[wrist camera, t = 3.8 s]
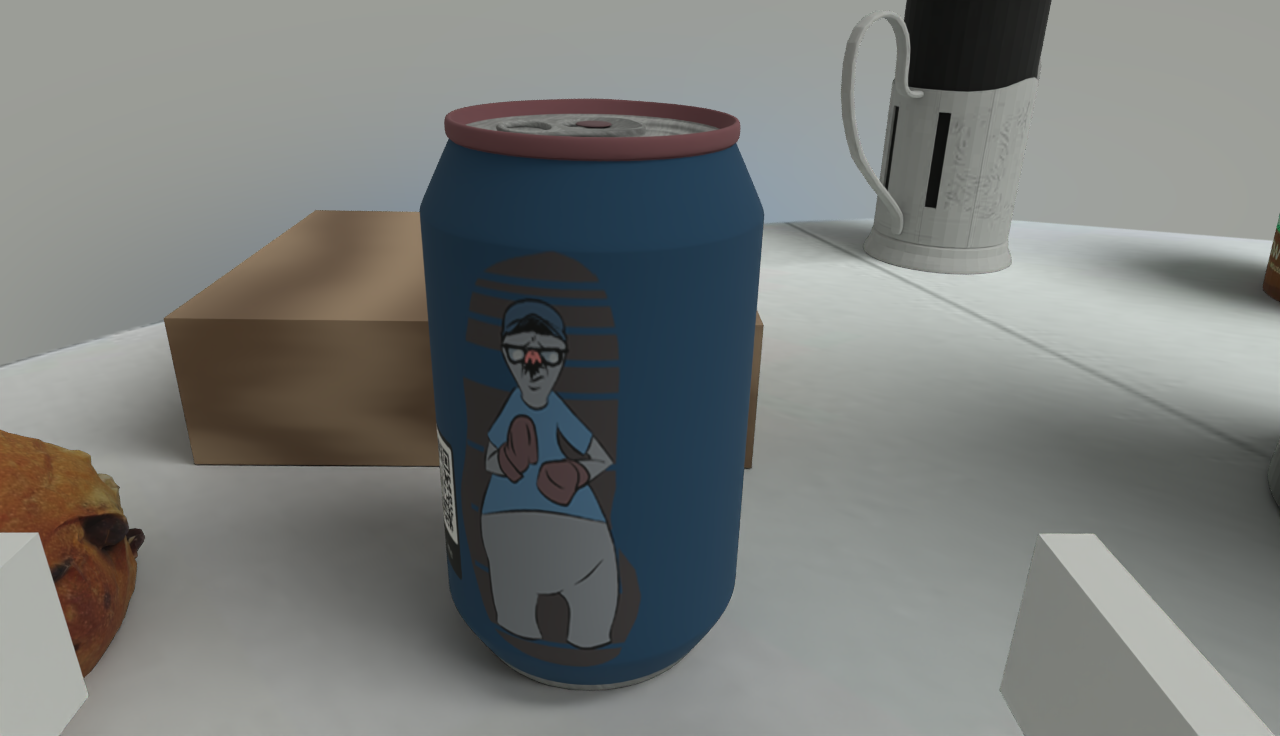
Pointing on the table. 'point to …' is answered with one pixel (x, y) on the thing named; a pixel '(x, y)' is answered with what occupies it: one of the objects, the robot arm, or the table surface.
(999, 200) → the glass holder
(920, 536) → the table surface
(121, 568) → the bread roll
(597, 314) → the soda can
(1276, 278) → the food container
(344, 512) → the table surface
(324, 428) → the block
